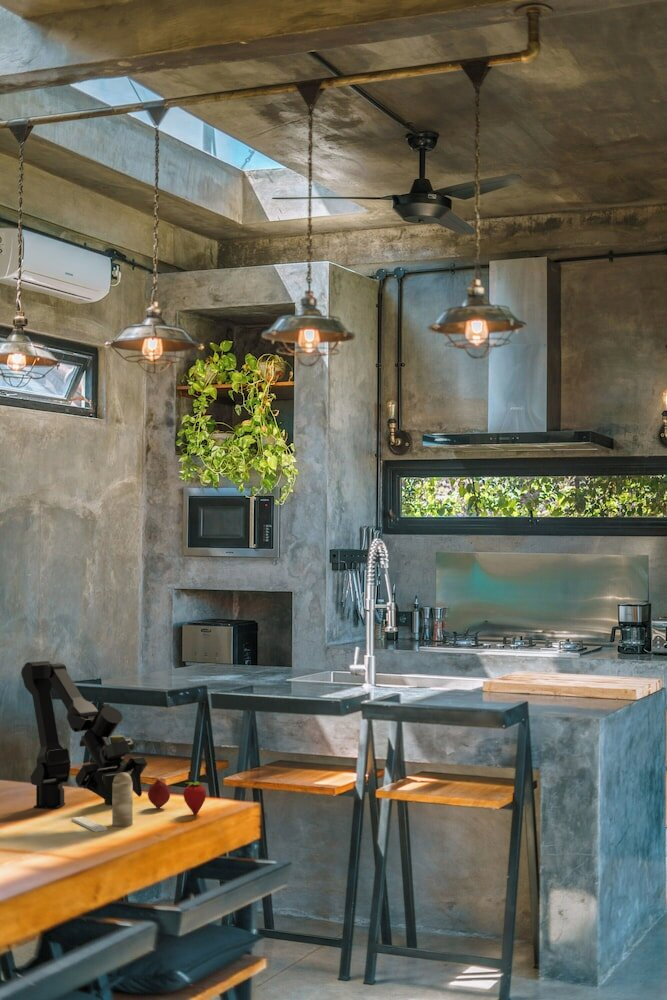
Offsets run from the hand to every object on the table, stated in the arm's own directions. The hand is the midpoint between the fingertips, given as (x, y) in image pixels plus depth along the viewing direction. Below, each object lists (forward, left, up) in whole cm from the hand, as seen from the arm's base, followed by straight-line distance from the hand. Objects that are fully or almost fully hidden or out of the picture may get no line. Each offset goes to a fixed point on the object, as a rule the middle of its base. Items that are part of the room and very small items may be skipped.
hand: (125, 798), depth 303 cm
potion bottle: (-13, +27, -7) cm, 31 cm away
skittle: (-1, +1, -7) cm, 7 cm away
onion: (+1, +22, -7) cm, 23 cm away
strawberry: (+13, +16, -7) cm, 21 cm away
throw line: (-9, -1, -7) cm, 12 cm away
